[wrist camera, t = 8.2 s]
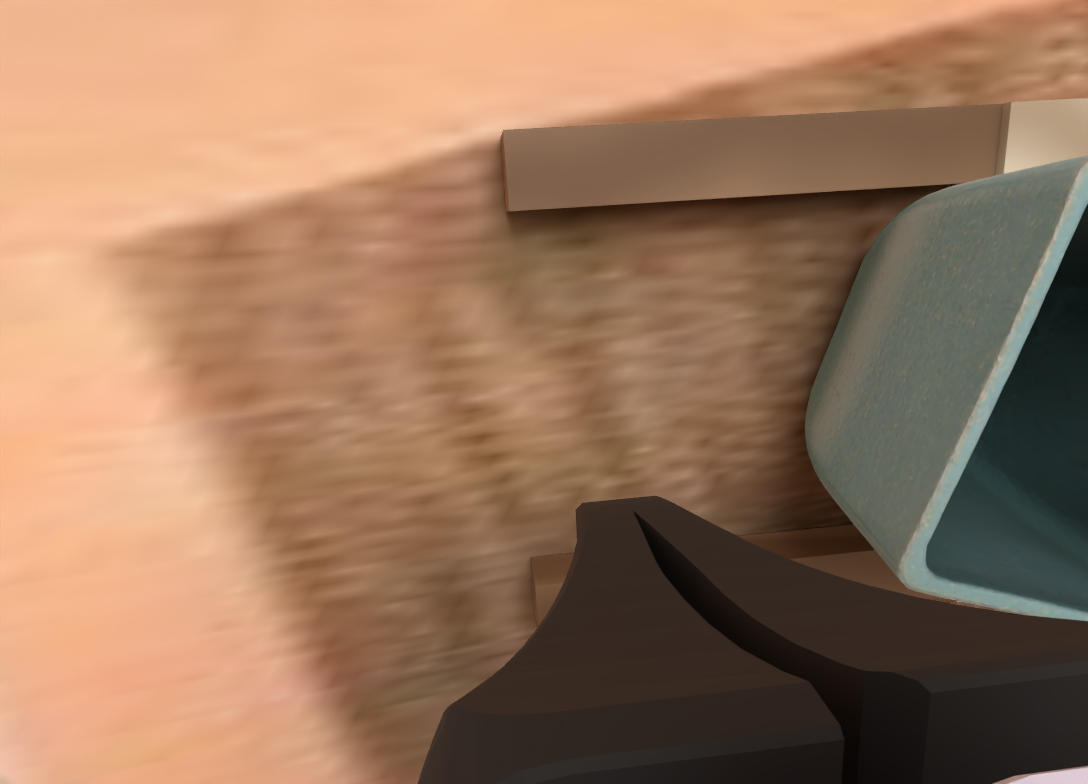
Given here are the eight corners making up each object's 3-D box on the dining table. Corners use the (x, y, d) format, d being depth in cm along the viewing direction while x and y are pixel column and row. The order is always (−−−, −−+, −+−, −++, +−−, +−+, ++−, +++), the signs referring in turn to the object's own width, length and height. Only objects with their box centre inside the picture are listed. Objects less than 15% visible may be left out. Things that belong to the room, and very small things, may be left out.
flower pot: (963, 504, 24) (1245, 671, 15) (731, 443, 22) (894, 590, 14) (1078, 254, 22) (1474, 283, 13) (831, 171, 20) (1095, 141, 12)
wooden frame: (1178, 541, 25) (1240, 570, 23) (534, 611, 23) (540, 649, 21) (1266, 96, 21) (1350, 84, 19) (500, 137, 19) (503, 128, 17)
